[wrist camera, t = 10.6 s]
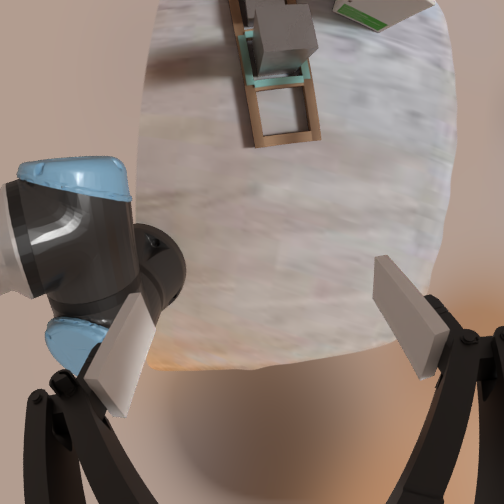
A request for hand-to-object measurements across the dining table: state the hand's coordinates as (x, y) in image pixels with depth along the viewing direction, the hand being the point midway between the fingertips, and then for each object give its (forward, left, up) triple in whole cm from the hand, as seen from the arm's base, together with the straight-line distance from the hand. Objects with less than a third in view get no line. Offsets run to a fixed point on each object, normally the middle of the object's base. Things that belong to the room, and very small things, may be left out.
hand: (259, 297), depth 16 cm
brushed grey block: (+6, +18, -29) cm, 34 cm away
